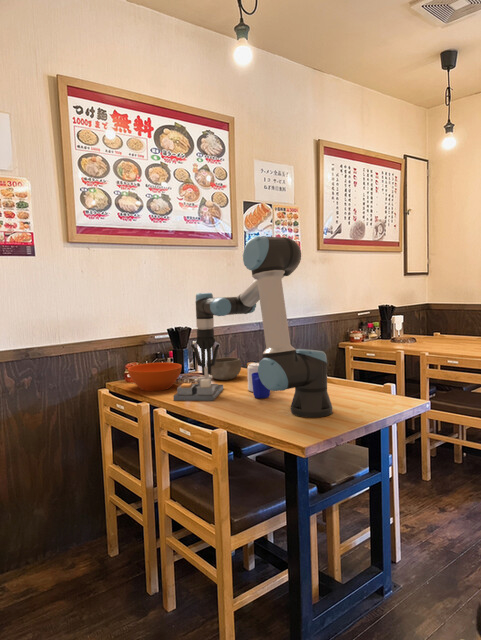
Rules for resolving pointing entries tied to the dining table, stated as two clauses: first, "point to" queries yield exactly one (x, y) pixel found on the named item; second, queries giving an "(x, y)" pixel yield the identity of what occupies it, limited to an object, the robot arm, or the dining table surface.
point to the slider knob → (200, 380)
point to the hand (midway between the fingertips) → (206, 381)
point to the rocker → (197, 378)
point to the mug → (259, 387)
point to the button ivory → (205, 383)
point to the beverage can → (251, 369)
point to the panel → (198, 393)
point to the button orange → (186, 385)
